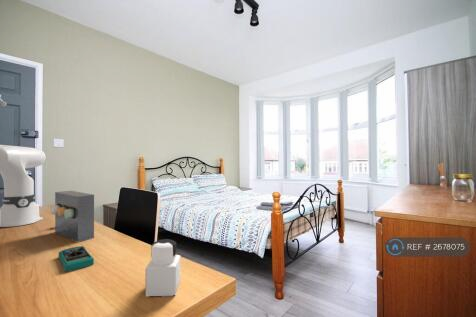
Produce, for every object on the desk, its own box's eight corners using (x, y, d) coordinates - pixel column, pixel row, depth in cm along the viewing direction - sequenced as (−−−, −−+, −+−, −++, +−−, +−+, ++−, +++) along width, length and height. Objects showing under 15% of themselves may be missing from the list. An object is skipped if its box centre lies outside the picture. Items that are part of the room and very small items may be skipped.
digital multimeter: (83, 252, 83) (83, 244, 83) (94, 266, 72) (94, 256, 72) (58, 258, 78) (58, 249, 78) (65, 274, 67) (65, 264, 67)
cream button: (51, 213, 100) (51, 205, 100) (57, 212, 102) (57, 204, 102) (54, 214, 98) (54, 206, 98) (61, 213, 100) (61, 205, 100)
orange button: (57, 215, 97) (57, 207, 97) (64, 214, 99) (64, 206, 99) (60, 217, 95) (60, 208, 95) (67, 215, 97) (67, 207, 97)
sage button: (63, 218, 93) (63, 209, 93) (70, 216, 95) (70, 207, 95) (67, 219, 91) (67, 210, 91) (74, 218, 93) (74, 209, 93)
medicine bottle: (153, 282, 62) (153, 237, 62) (180, 280, 63) (180, 236, 63) (145, 297, 55) (145, 247, 55) (175, 296, 56) (175, 246, 56)
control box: (55, 232, 104) (55, 192, 104) (70, 229, 109) (70, 190, 109) (77, 242, 92) (77, 196, 92) (94, 237, 97) (94, 194, 97)
